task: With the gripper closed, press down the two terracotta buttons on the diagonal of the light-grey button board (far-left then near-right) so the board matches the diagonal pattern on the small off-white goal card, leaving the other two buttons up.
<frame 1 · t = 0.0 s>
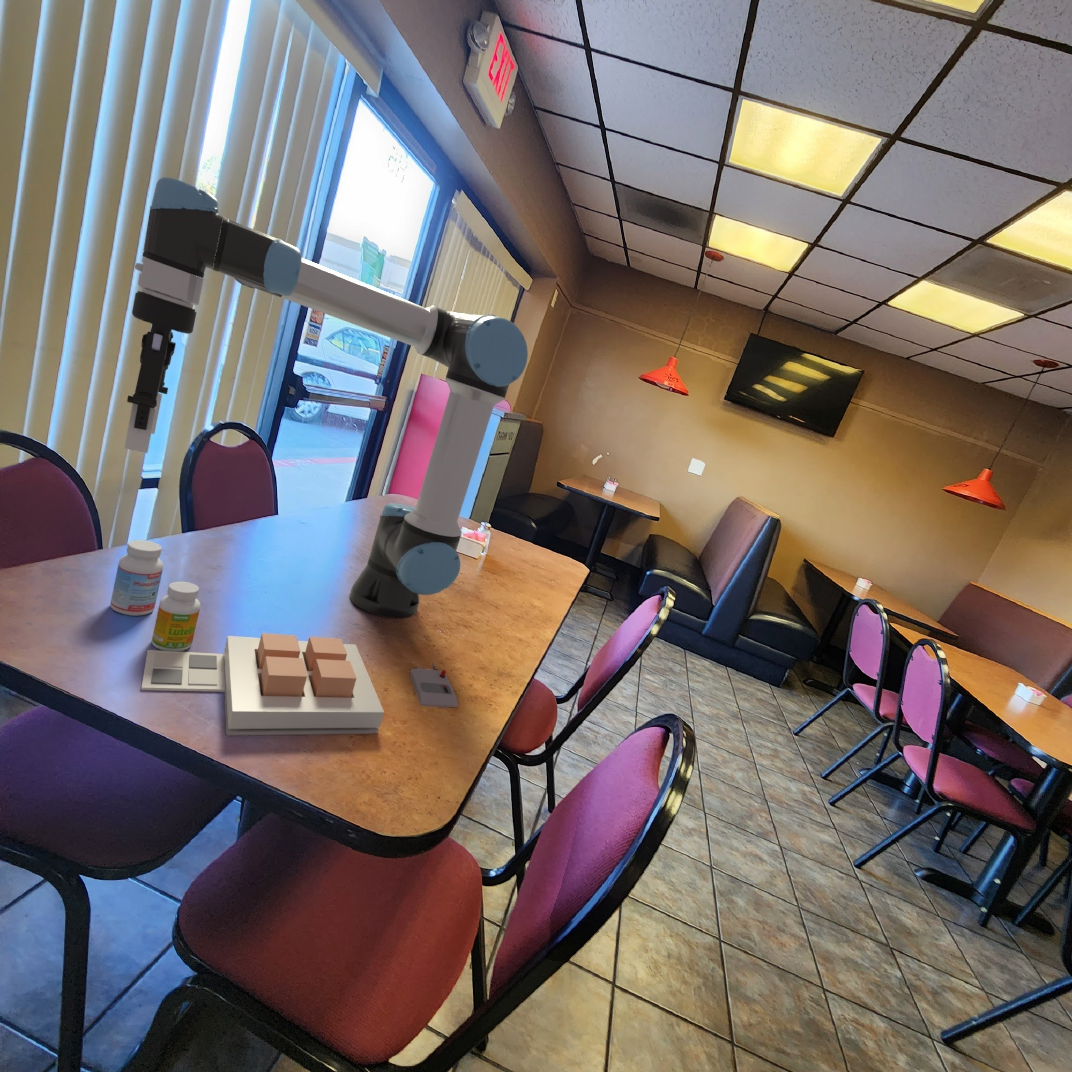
hand: (140, 440, 88), 28 cm above the table, fingers open, 13 cm apart
button c: (333, 678, 87), point 5 cm above the table, slide at 0.0 cm
pill bottle: (132, 609, 96), on the table
button d: (325, 654, 92), point 5 cm above the table, slide at 0.0 cm
supplement bottle: (171, 645, 90), on the table
button b: (278, 652, 89), point 5 cm above the table, slide at 0.0 cm
button a: (283, 676, 83), point 5 cm above the table, slide at 0.0 cm
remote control: (430, 691, 104), on the table
goal card: (185, 671, 85), on the table
board: (297, 693, 89), on the table
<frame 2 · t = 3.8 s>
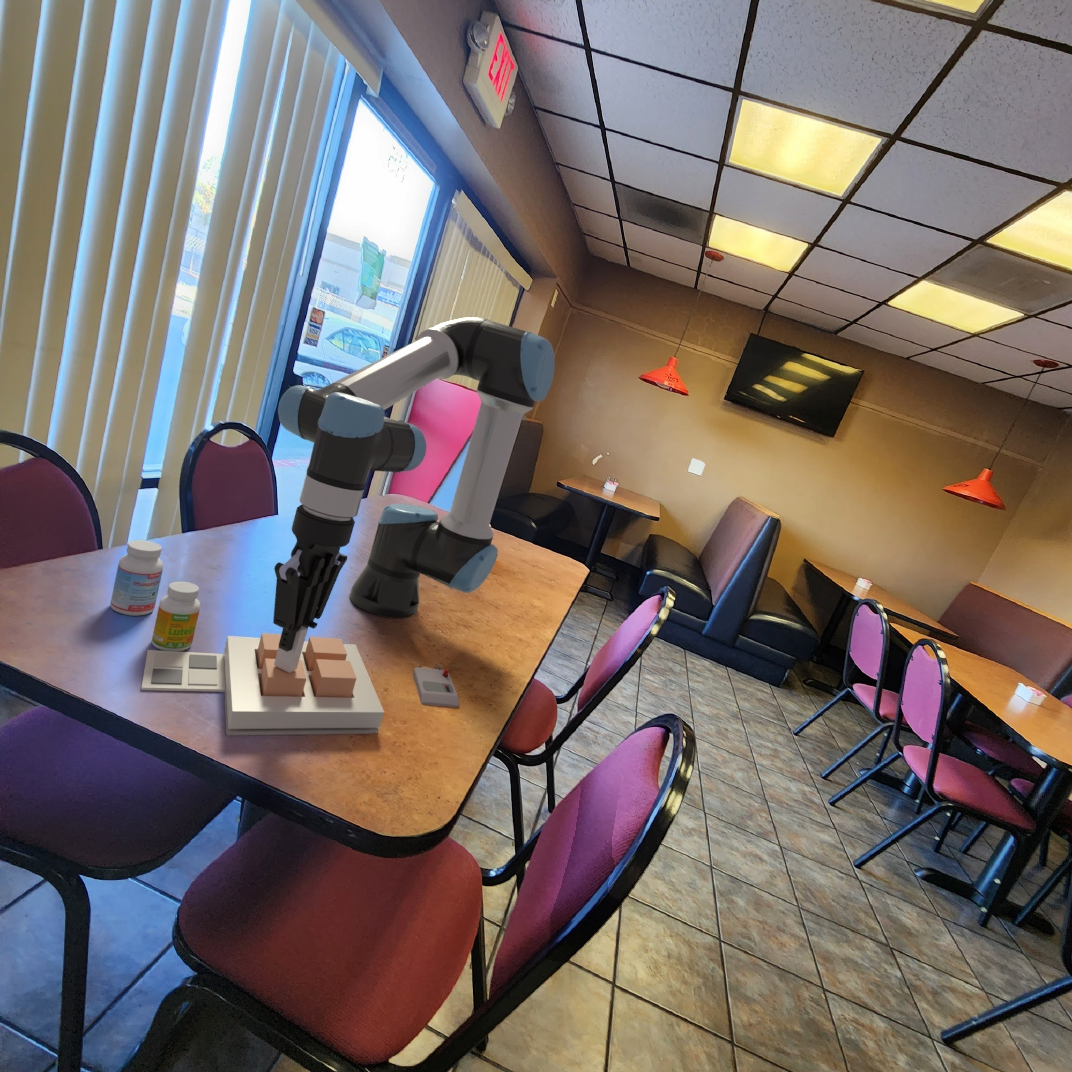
hand: (285, 667, 82), 7 cm above the table, fingers closed
button a: (282, 678, 83), point 5 cm above the table, slide at 0.3 cm, touching gripper
everything else where it was.
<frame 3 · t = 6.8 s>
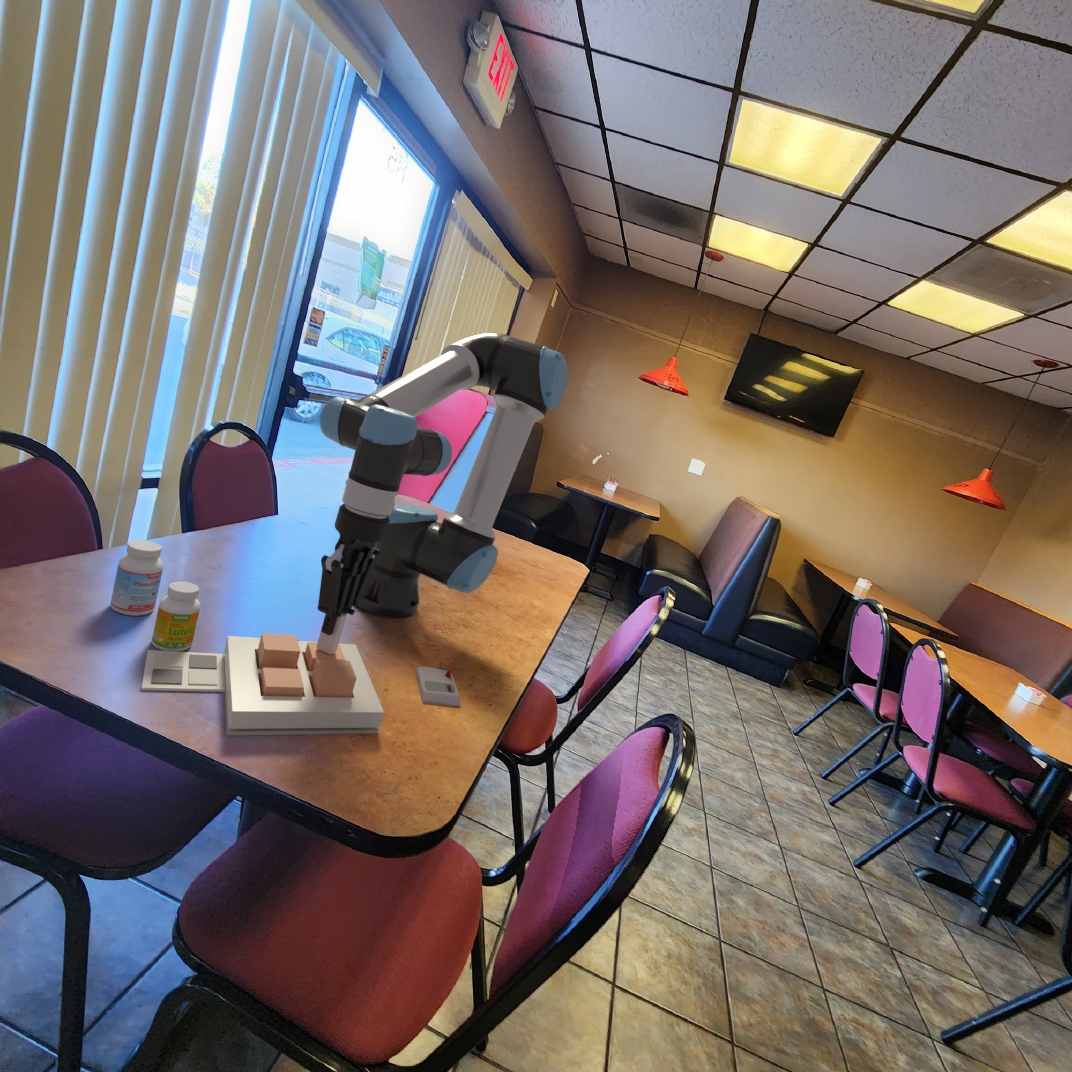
hand: (326, 649, 92), 6 cm above the table, fingers closed
button d: (323, 660, 93), point 4 cm above the table, slide at 1.0 cm, touching gripper
button a: (280, 687, 83), point 3 cm above the table, slide at 1.8 cm
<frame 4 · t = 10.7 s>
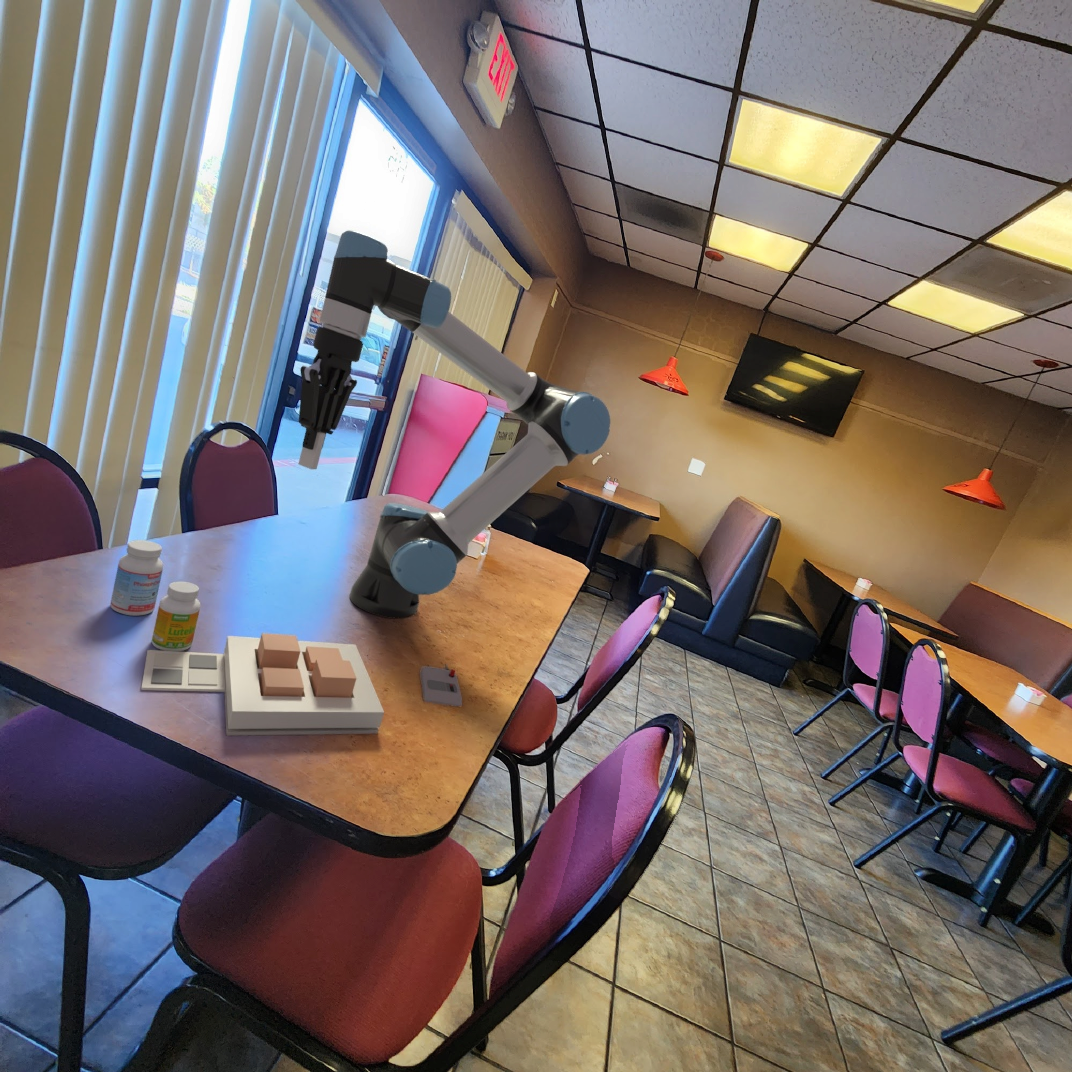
hand: (307, 466, 102), 29 cm above the table, fingers closed
button d: (322, 664, 93), point 3 cm above the table, slide at 1.8 cm
at the end: button a slide at 1.8 cm; button d slide at 1.8 cm; button b slide at 0.0 cm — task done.
